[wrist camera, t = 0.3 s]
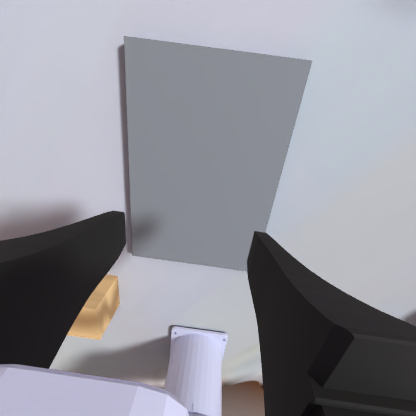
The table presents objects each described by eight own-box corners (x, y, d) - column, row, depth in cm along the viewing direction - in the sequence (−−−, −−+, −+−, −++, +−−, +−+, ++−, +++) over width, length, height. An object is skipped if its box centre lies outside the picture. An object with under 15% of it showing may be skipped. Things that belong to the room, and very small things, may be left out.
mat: (252, 266, 24) (254, 272, 23) (135, 250, 24) (132, 255, 23) (307, 64, 16) (312, 60, 15) (129, 40, 16) (123, 35, 15)
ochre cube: (119, 303, 28) (100, 339, 23) (84, 298, 28) (57, 333, 23) (117, 275, 26) (95, 309, 21) (79, 270, 26) (48, 302, 21)
